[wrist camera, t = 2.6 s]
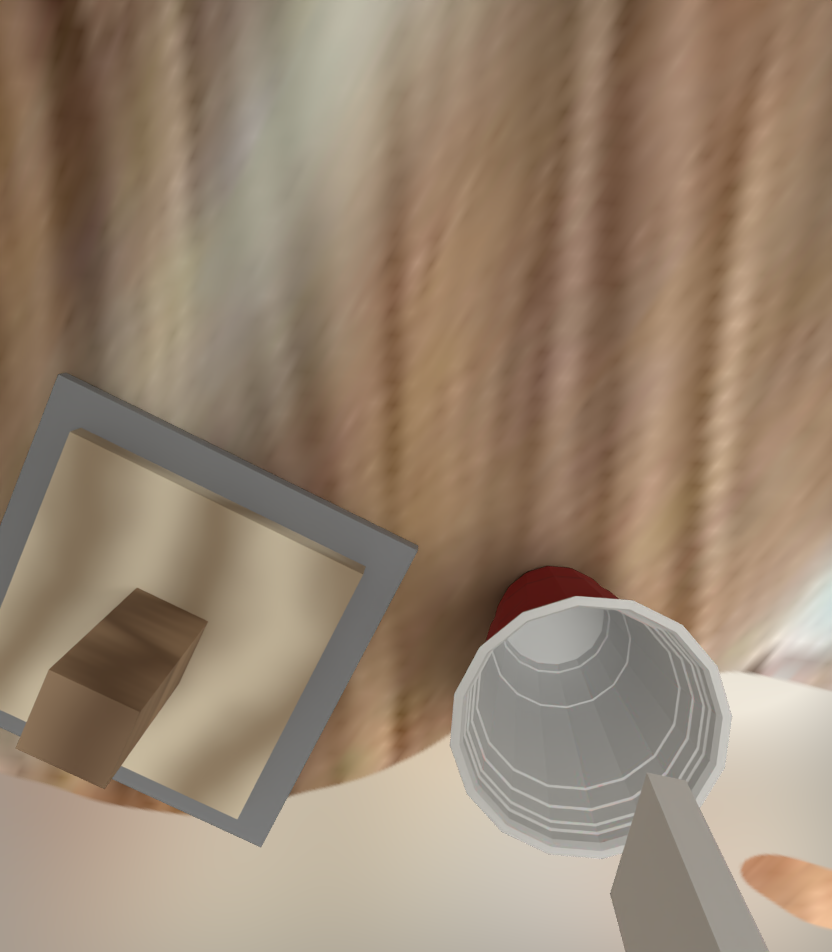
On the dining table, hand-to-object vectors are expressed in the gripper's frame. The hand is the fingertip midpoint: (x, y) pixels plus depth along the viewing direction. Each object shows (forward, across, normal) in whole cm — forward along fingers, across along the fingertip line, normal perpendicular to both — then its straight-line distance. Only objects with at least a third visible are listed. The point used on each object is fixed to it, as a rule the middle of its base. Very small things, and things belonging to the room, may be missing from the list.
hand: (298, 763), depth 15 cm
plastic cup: (+26, +10, -6) cm, 28 cm away
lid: (+25, -10, -11) cm, 29 cm away
